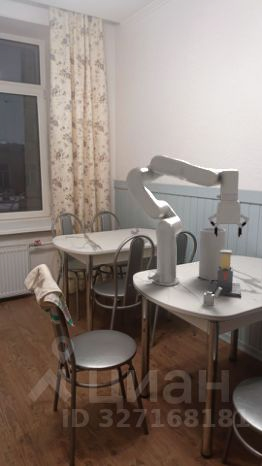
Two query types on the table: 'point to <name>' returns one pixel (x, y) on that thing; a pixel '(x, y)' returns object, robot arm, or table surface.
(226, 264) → the column
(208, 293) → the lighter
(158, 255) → the robot arm
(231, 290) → the stand base
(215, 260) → the cylinder vase
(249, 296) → the table surface
